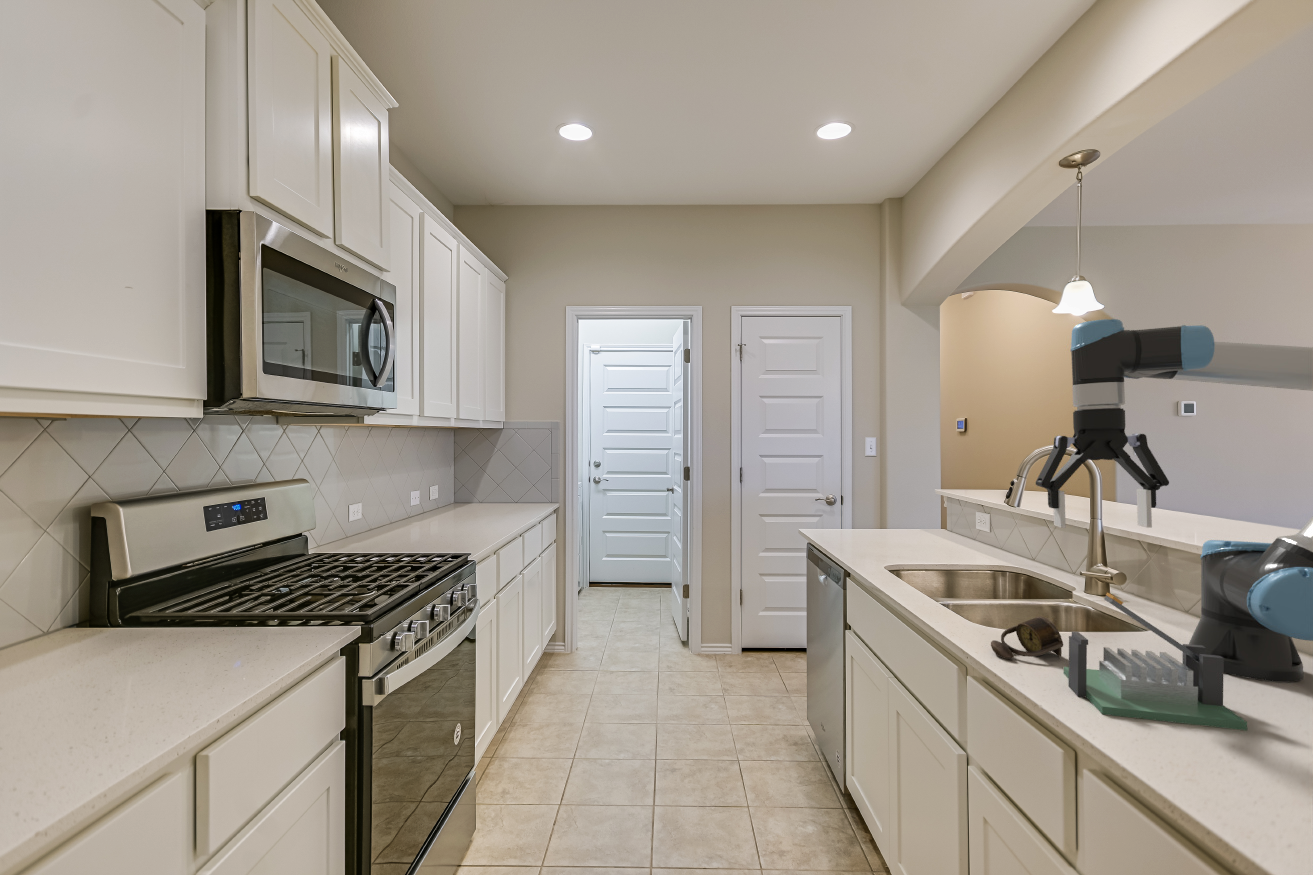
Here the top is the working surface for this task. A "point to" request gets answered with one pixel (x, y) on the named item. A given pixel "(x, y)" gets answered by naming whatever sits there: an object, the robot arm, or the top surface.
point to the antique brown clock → (1031, 639)
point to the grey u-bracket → (1206, 675)
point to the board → (1157, 707)
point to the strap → (1149, 626)
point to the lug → (1078, 663)
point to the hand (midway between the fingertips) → (1101, 526)
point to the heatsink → (1148, 677)
